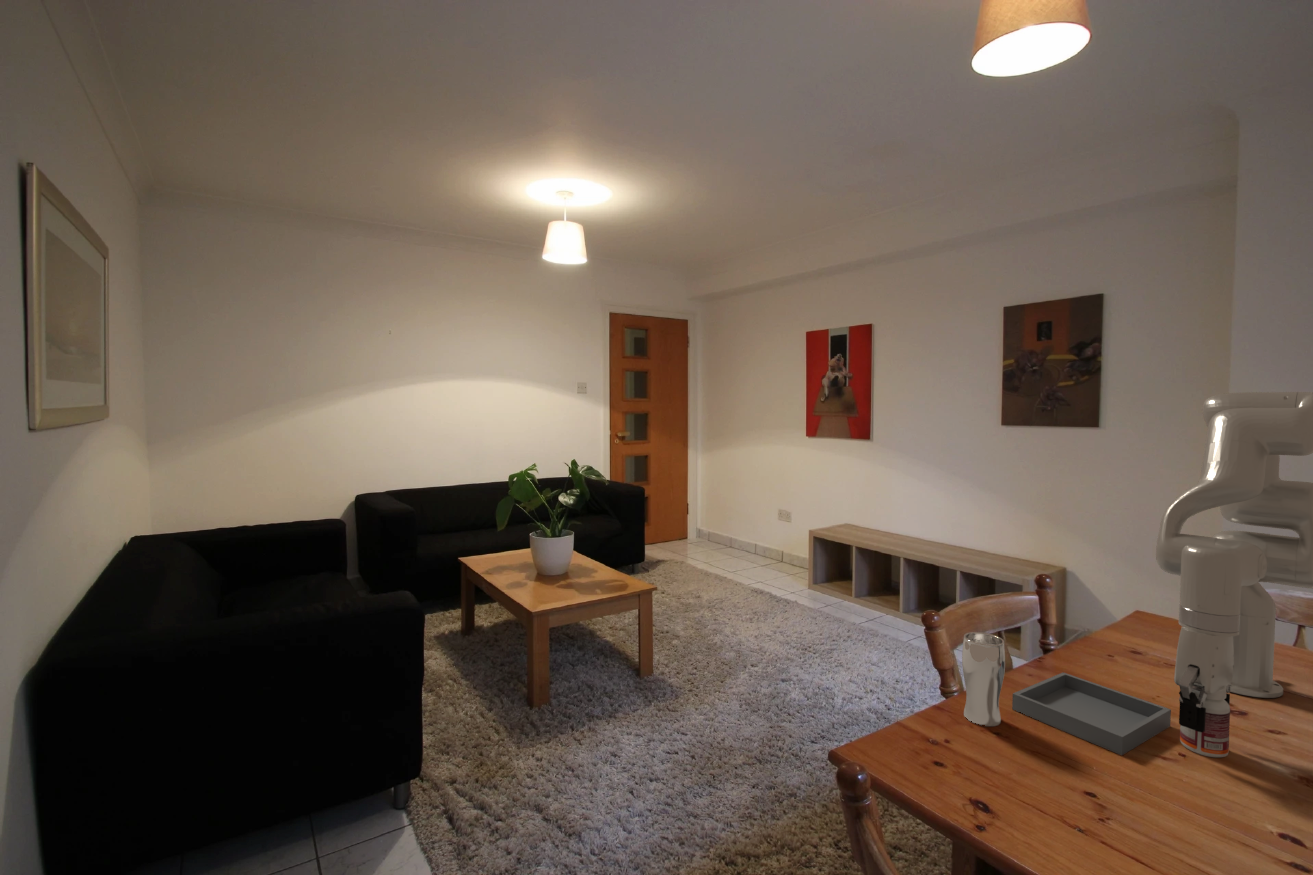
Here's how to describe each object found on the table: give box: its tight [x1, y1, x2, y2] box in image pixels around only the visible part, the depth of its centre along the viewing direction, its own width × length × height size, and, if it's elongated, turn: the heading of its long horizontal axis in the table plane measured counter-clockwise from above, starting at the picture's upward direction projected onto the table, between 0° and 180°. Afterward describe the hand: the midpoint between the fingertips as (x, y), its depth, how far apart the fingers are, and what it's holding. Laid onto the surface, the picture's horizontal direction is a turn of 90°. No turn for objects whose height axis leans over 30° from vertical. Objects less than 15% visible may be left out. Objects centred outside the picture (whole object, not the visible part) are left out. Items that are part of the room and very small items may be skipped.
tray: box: [1011, 671, 1172, 756], centre depth 114 cm, size 18×18×3 cm
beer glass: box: [961, 631, 1006, 727], centre depth 114 cm, size 7×7×15 cm
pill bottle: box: [1179, 684, 1231, 758], centre depth 103 cm, size 6×6×11 cm
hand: (1204, 720), depth 103 cm, fingers open, 9 cm apart
